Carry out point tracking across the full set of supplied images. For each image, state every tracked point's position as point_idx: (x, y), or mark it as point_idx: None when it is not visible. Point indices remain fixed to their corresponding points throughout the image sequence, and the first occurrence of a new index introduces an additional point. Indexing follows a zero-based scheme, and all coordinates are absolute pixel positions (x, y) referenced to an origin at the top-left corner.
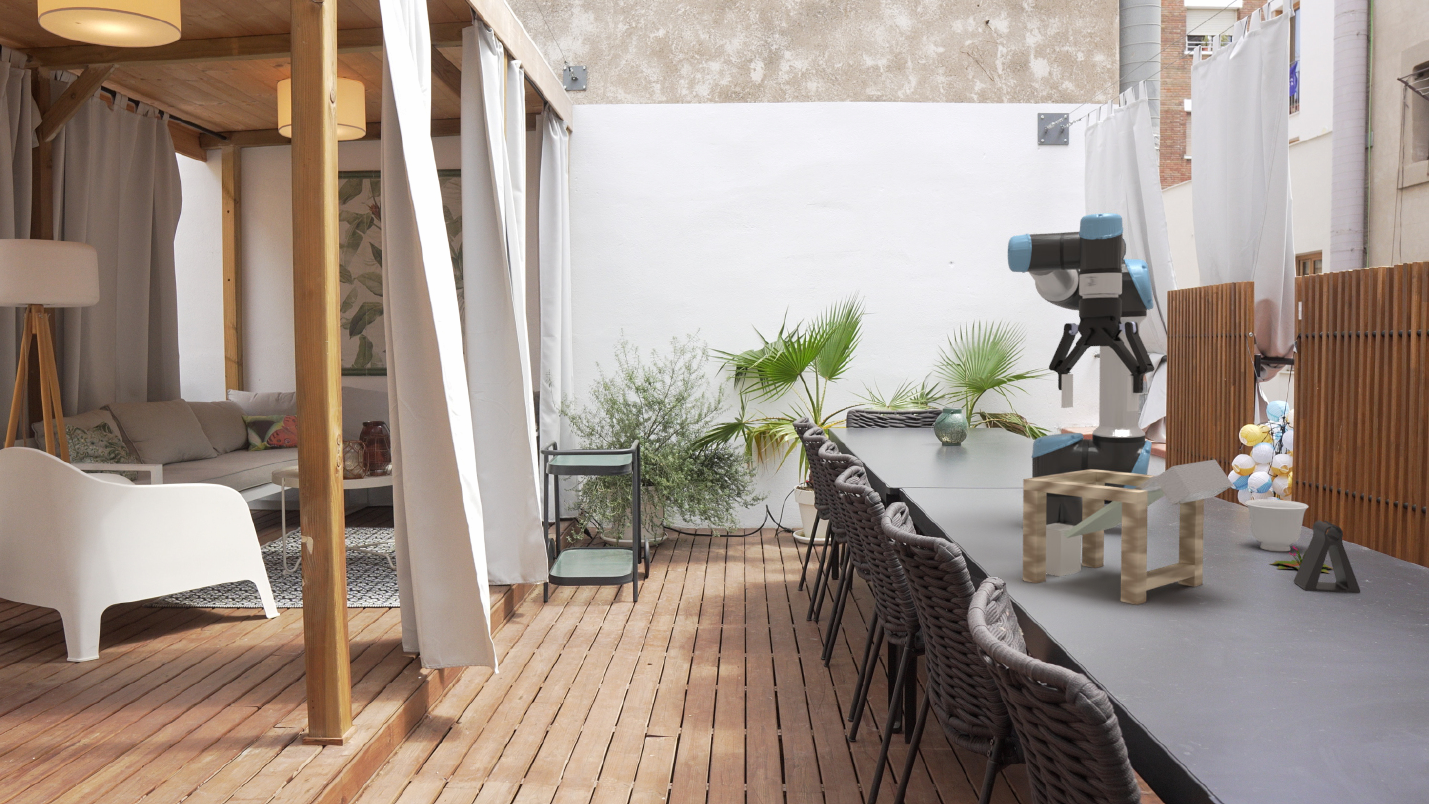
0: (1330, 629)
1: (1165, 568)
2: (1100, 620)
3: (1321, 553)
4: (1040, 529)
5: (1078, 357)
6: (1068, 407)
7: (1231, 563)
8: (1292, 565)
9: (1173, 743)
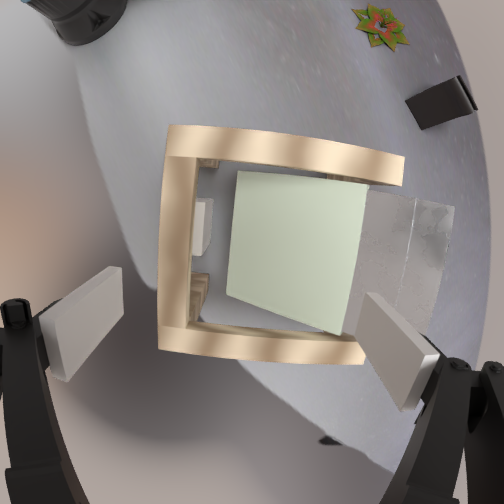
0: (455, 263)
1: None
2: (317, 367)
3: (451, 119)
4: (198, 309)
5: (50, 413)
6: (122, 293)
7: (326, 41)
8: (373, 24)
9: (390, 467)
